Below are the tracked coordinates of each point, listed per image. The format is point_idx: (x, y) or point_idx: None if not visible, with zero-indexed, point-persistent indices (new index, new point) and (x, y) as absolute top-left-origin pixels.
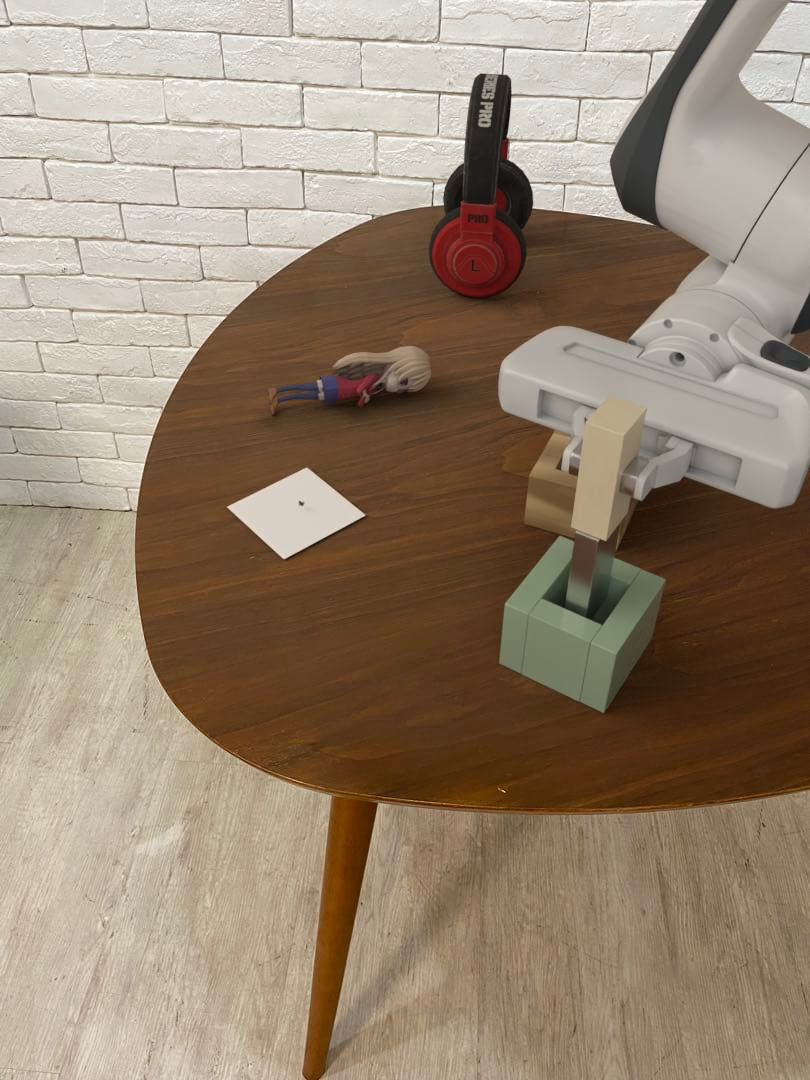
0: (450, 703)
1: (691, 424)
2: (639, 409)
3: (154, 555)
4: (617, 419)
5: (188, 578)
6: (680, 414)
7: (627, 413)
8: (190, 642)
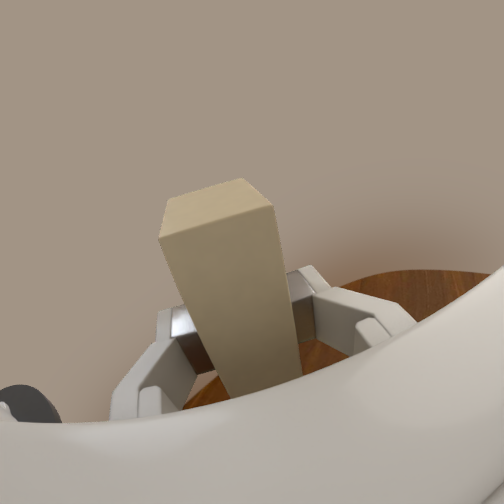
0: (316, 368)
1: (105, 440)
2: (172, 225)
3: (483, 276)
4: (198, 198)
5: (466, 285)
6: (148, 464)
7: (190, 209)
8: (422, 279)
